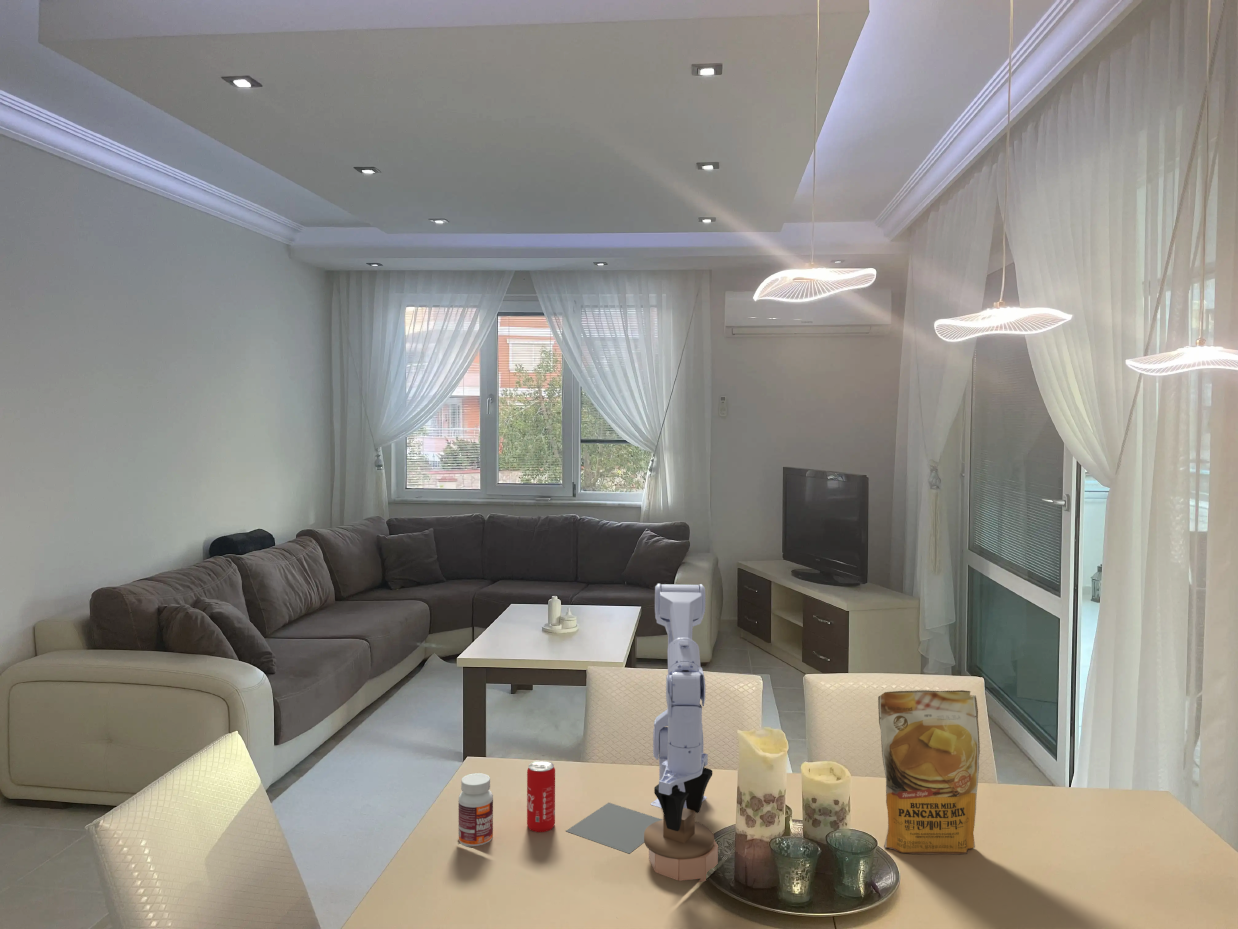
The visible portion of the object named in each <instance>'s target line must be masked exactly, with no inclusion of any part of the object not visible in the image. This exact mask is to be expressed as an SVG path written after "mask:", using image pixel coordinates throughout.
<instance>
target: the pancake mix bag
mask: <svg viewBox="0 0 1238 929" xmlns="http://www.w3.org/2000/svg"><path fill="white" fill-rule="evenodd" d="M971 692H972V691H970V690H964V689H962V690H960V689H959V690H927V689H925V690H923V689H922V690H898V691H894V690H893V691H885V692H883V693H882V694H880V695H879V696H878V697H877V698H878V700H877V702H878V703H877V704H878V723H879V728H880V741H881V744H880V745H881V756H882V757H881V758H882V763H883V769H884V770H883V771H884V774H885V803H886V809H887V820H888V821H887V824H888V825H887V833H886V838H885V841H884V845H883V848H886V849H890V850H891V849H892V850H893V851H896V852H898V853H902V854H912V855H913V854H914V855H915V854H917V855H920V854H921V855H922V854H923V855H941V854H945V855H960V854H963V855H964V854H968V851H969V850H972V849H974V848H975V849H976V842H975V837H974V836H975V835H974V832H975V826H976V825H975V823H976V815H977V814H976V813H977V795H978V785H979V773H980V772H979V771H980V762H979V761H980V754H981V753H980V752H981V747H980V746H981V745H980V744H981V743H980V727H979V726H980V725H979V708H978V700H977V695H972V694H971Z"/></svg>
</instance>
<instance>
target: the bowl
mask: <svg viewBox="0 0 1238 929" xmlns="http://www.w3.org/2000/svg"><path fill="white" fill-rule="evenodd" d="M718 855H719V845H718V844H717V842H716V840H715V839H714V846H713V848H712V850H711V851H710V852H709V853H707V854H705V855H703V856H700V857H697V858H692V859H672V858H667V857H663V856H660V855H658V854H655V853H654V852H652V851H651V850H649V849H648V860H649V863H650V864H651V866H652V869H653V872H654V873H656V874H659V875H661V876H664V877H667V878H671V879H673V880H676V881H678V882H680V881H681V882H682V881H689V880H698V881H697V883H700V882H706V881H707V880H706V874H707V872H708V871H709V870H710V869H712V868H714V867H715V866H716V865H717V864H718V863H719V858H718V857H719V856H718Z"/></svg>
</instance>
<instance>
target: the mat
mask: <svg viewBox="0 0 1238 929" xmlns="http://www.w3.org/2000/svg"><path fill="white" fill-rule="evenodd" d="M660 820H663V818H659V817H656V816H654V815H653V816H652V815H649V814H646V813H644V812H640V811H637V810H633V809H630V808H627V807H625V806H621V805H618V804H615V803H611V802H607V803H605V804H604V805H602V806H601V807H600V808H598V809H596V810H595V811H594V812H592V813H591V814H589V815H587V816H586V817H584V818H583V819H582V820H580V821H579V822H577V823H575V824H574V825H572V826H571V827H570V828H568V829H566V830H565V832H566V833H570V834H572V835H575V836H578V837H581V838H583V839H587V840H589V841H592V842H595V843H598V844H601V845H604V846H605V847H608V848H611V849H613V850H617V851H620V852H623V853H625V854H629V855H630V854H631V853H633V852H634V851H635V850H636V849H638V848H639V847H640V846H642V845H643V844H645V843H644V832H645V830H646V828H647V827H648V826H649V825H651V824H653V823H655V822H657V821H660Z"/></svg>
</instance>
